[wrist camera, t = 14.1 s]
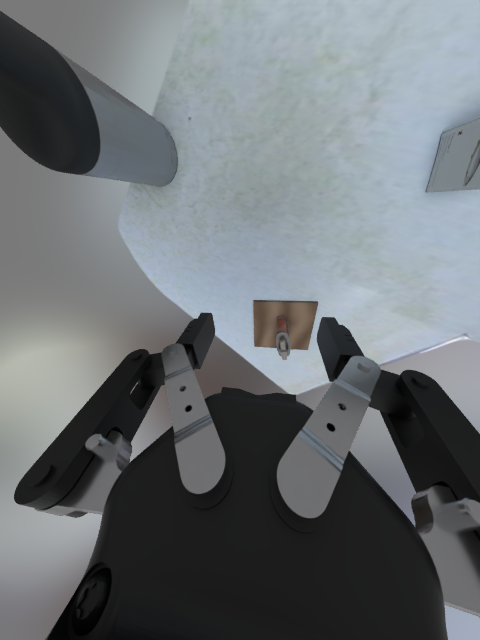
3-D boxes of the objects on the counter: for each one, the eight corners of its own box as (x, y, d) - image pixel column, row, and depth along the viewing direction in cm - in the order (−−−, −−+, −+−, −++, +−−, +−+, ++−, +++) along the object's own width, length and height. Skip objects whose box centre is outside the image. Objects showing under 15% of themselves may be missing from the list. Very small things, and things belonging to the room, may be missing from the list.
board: (254, 344, 54) (254, 346, 53) (253, 300, 45) (253, 301, 44) (307, 348, 51) (307, 350, 51) (317, 301, 42) (318, 303, 42)
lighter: (289, 337, 49) (292, 364, 41) (277, 338, 50) (278, 364, 42) (287, 314, 45) (290, 339, 37) (274, 315, 46) (274, 340, 38)
